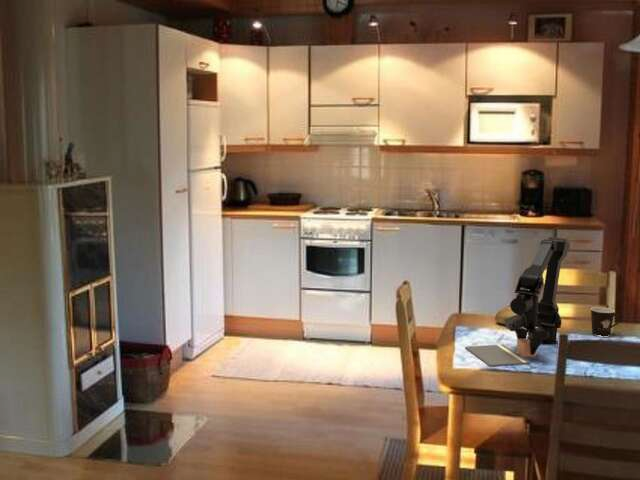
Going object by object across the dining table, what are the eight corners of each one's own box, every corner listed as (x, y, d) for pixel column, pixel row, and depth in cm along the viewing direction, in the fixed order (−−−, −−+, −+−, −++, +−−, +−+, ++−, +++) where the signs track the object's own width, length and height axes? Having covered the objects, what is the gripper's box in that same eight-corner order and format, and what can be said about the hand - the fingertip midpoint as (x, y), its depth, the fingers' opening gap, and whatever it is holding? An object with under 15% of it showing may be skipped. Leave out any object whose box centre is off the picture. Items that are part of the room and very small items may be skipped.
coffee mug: (588, 336, 281) (590, 311, 279) (589, 330, 289) (591, 306, 287) (621, 340, 276) (623, 314, 275) (621, 334, 284) (623, 309, 283)
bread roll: (499, 320, 302) (500, 301, 301) (535, 326, 294) (536, 307, 293) (491, 325, 294) (492, 306, 293) (527, 331, 286) (528, 312, 285)
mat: (502, 345, 267) (502, 344, 267) (530, 363, 248) (530, 361, 248) (465, 348, 264) (465, 346, 264) (490, 366, 245) (490, 364, 244)
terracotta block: (529, 351, 262) (530, 338, 261) (536, 356, 257) (537, 342, 256) (516, 352, 260) (517, 339, 260) (523, 356, 256) (524, 343, 255)
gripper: (496, 303, 263) (493, 344, 265) (521, 316, 245) (518, 361, 248) (524, 301, 265) (521, 342, 268) (551, 315, 248) (548, 359, 250)
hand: (526, 351), depth 258 cm, fingers open, 8 cm apart
